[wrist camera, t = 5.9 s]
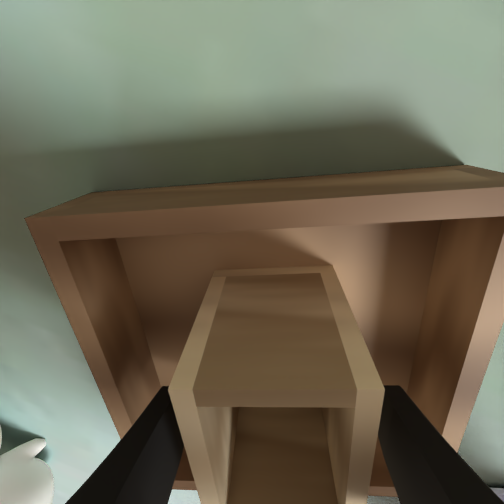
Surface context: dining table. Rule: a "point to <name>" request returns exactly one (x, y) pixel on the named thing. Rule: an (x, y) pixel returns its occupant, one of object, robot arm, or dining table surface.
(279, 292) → the small crate
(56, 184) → the dining table surface
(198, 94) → the dining table surface
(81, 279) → the large crate
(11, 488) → the cat figurine
